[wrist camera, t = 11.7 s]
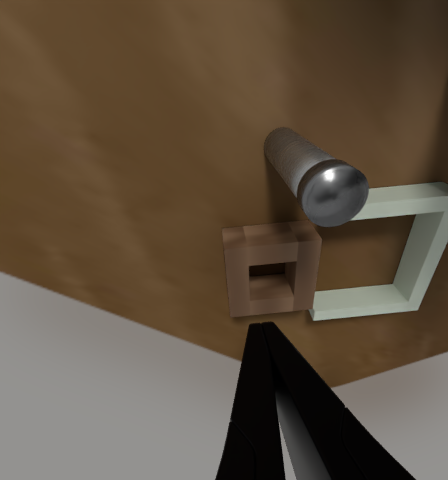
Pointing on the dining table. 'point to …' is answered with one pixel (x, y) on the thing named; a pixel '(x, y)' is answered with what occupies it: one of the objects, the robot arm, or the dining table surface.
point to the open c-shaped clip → (413, 259)
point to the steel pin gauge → (317, 178)
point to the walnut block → (269, 252)
